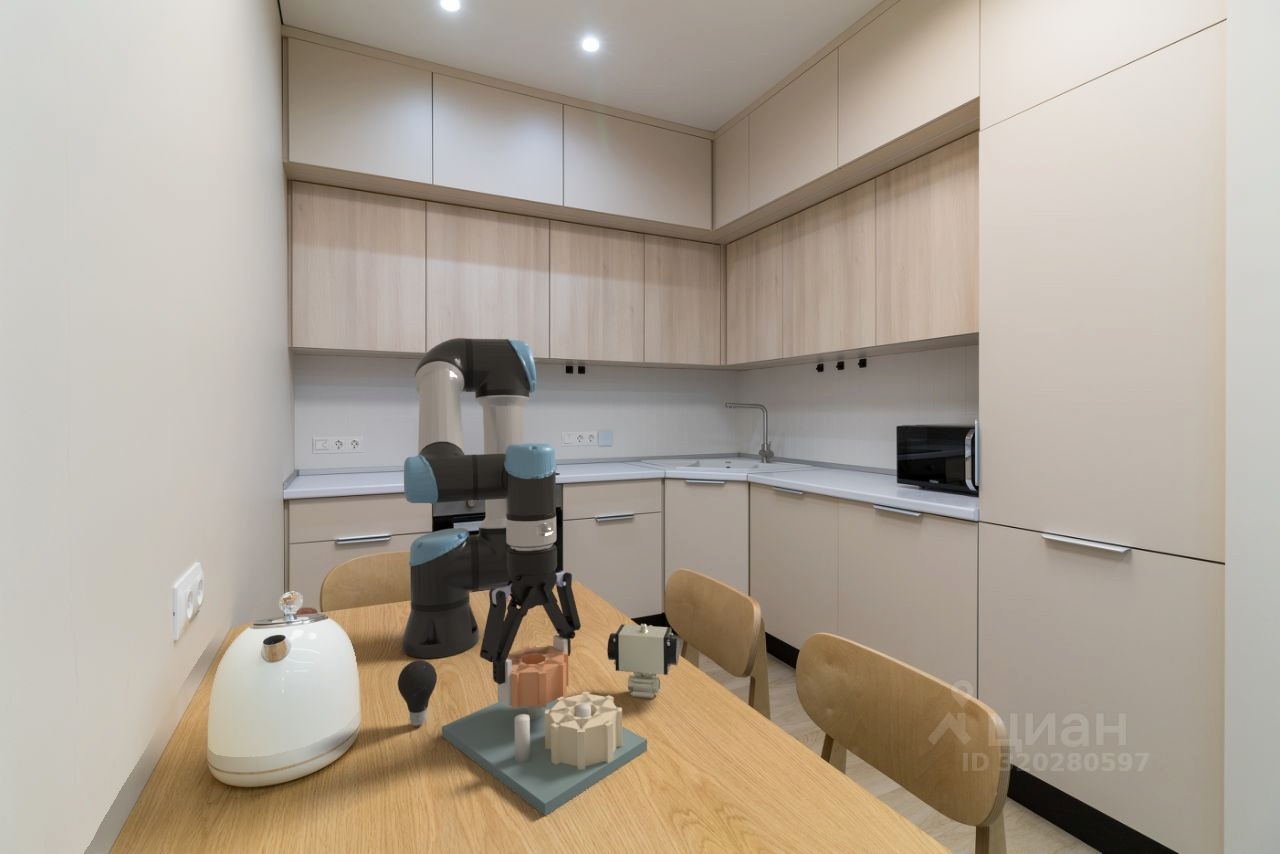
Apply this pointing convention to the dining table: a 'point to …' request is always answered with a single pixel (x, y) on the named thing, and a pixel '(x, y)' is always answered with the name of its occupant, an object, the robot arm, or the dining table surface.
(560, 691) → the loose gear
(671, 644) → the pneumatic valve
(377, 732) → the dining table surface
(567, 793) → the gear board
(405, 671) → the light bulb
